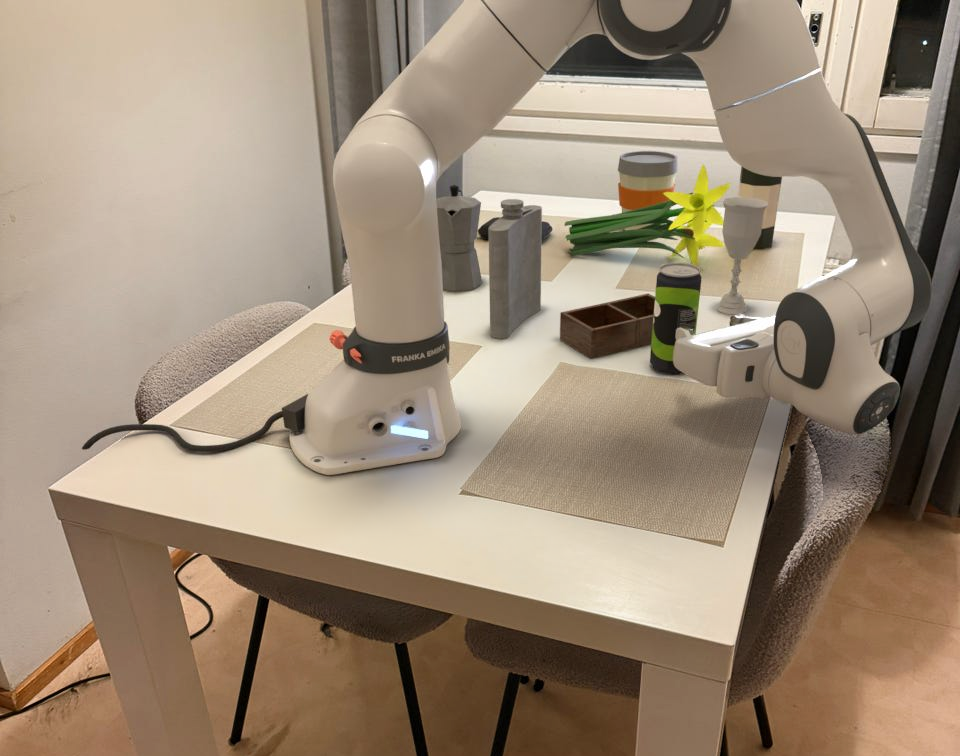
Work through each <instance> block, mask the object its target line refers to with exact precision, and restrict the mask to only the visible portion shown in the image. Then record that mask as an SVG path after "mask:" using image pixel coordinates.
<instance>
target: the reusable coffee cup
mask: <svg viewBox="0 0 960 756" xmlns="http://www.w3.org/2000/svg"><path fill="white" fill-rule="evenodd" d="M678 162H679V161H678V156H677V155H676V154H675V153H670V152H665V151H656V150H640V151H639V150H638V151H629V152H625V153H622V154H620V156H619V160H618V165H617V166H618V167H617V172H619V173H618V174H619V182H618V184H617V187H618V202H619V207H621V213H623V212H627V211H631V210H635V209H640V208H644V207H647V206H651V205H655V204H658V203H662V202H666V201H669V200H671V199H669V198H668V197H666V196H665V195H664V194H663V193H664V192H675V188H676V184H675V178H676V174H677V173H678V170H679V169H678V167H679V166H678ZM648 225H651V224H643V225H636V226H632V227H628V228H624V229H623V231H626V230H636V229H639V228H642V227H645V226H648ZM661 225H663V224H661Z"/></svg>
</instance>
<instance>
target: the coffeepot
mask: <svg viewBox="0 0 960 756" xmlns="http://www.w3.org/2000/svg"><path fill="white" fill-rule="evenodd" d="M449 190H450V195H447V196H441V197H438V198H437V197H436V201H437V217H438V230H439V243H440V253H441V261H442V282H443V292H444V291H445V292H453V293H456V292H457V293H461V292H467V291H472V290H474V289H477V288H479V287H480V286H481V284H483V279H482V274H481V268H480V263H479V258H478V252H477V250H476V247H475V241H476V240H477V239H478V229H479V223H480V217H481V216H480V215H481V208H482V207H481V206H482V202H481V201H480V200H478V198H476V197H471V196H464V195H463V192H462V190H460V186H459V185H455V184H452V185H451V186H449Z"/></svg>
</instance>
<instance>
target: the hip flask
mask: <svg viewBox="0 0 960 756" xmlns="http://www.w3.org/2000/svg"><path fill="white" fill-rule="evenodd" d="M500 208H501V215H502V216H500V217H501V218H499V219H498V220H496V221H495V222H494V223H493V224H492V225H491V226H490V227H489V228H488V234H489V239H488V284H489V285H488V286H489V288H488V289H489V336H490V337H491V338H492V339H495V340H504V339H508V338H509V337H510V336H511V334H512V333H513V332H514V331H515V329H516V328H517V327H518V326H520V325H521V323H523V322H524V321H525V320H527V319H529V318H531V316H533V315H535V314H536V313H539V312H540V311H541V307H542V306H541V304H542V296H541V295H542V241H543V240H542V221H543V206H540V205H537V204H530V205H525V204H524V200H522V199H518V198H507V199H503V200H501V201H500ZM541 240H542V241H541Z"/></svg>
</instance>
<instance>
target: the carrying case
mask: <svg viewBox="0 0 960 756" xmlns="http://www.w3.org/2000/svg"><path fill="white" fill-rule="evenodd" d="M501 217H502V216H498V217H497V216H495V217H492V218H491V219H489V220H488V221H486V222H485V223H483V224H482V225H480V227H478V232H477V235H479V236H480V237H481V239H483V240H489V234H488V228H489V227H490V226H491V225H492V224H493V223H494V222H495V221H496V220H498V219H499V218H501ZM551 233H553V227H552V225H551V224H550V223H549V222H547V221H544V220H542V240H541V242H542V241H544V240H545V238H547V237H548V236H549V235H550V234H551Z"/></svg>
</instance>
